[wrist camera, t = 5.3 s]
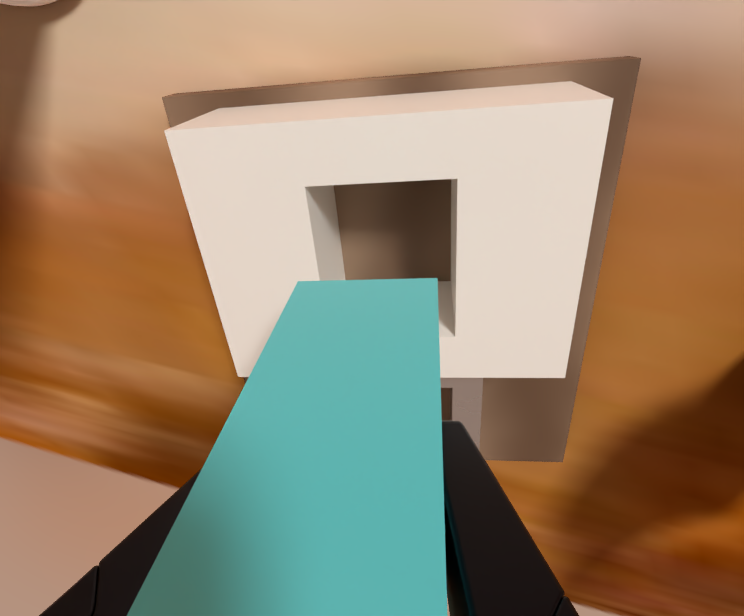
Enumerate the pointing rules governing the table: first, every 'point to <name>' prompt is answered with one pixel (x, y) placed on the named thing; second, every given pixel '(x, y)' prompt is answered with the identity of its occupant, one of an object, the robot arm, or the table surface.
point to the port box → (397, 164)
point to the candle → (26, 2)
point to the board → (433, 228)
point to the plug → (322, 469)
